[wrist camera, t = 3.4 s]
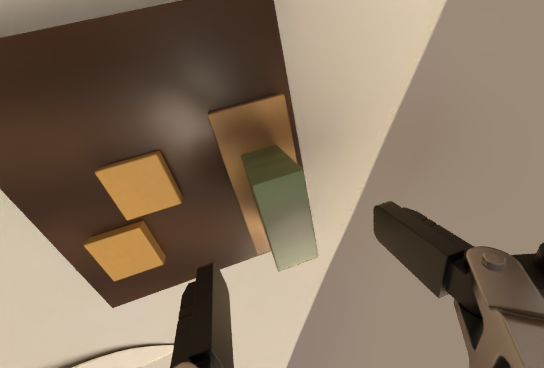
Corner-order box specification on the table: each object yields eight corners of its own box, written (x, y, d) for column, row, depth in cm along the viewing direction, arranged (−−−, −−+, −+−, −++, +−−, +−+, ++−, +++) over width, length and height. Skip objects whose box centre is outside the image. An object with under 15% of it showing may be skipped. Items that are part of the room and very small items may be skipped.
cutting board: (-90, 64, 11) (-121, 62, 10) (266, -11, 14) (270, -19, 13) (117, 297, 21) (112, 308, 19) (310, 228, 23) (315, 235, 22)
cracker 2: (90, 236, 16) (82, 245, 15) (143, 219, 17) (139, 227, 16) (118, 272, 18) (113, 281, 17) (166, 256, 19) (163, 264, 18)
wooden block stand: (207, 111, 15) (202, 130, 8) (276, 92, 15) (318, 97, 9) (253, 240, 20) (270, 309, 14) (302, 223, 21) (340, 282, 15)
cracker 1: (100, 166, 14) (93, 172, 14) (159, 149, 15) (156, 153, 14) (131, 213, 16) (126, 221, 15) (183, 197, 17) (181, 203, 16)
